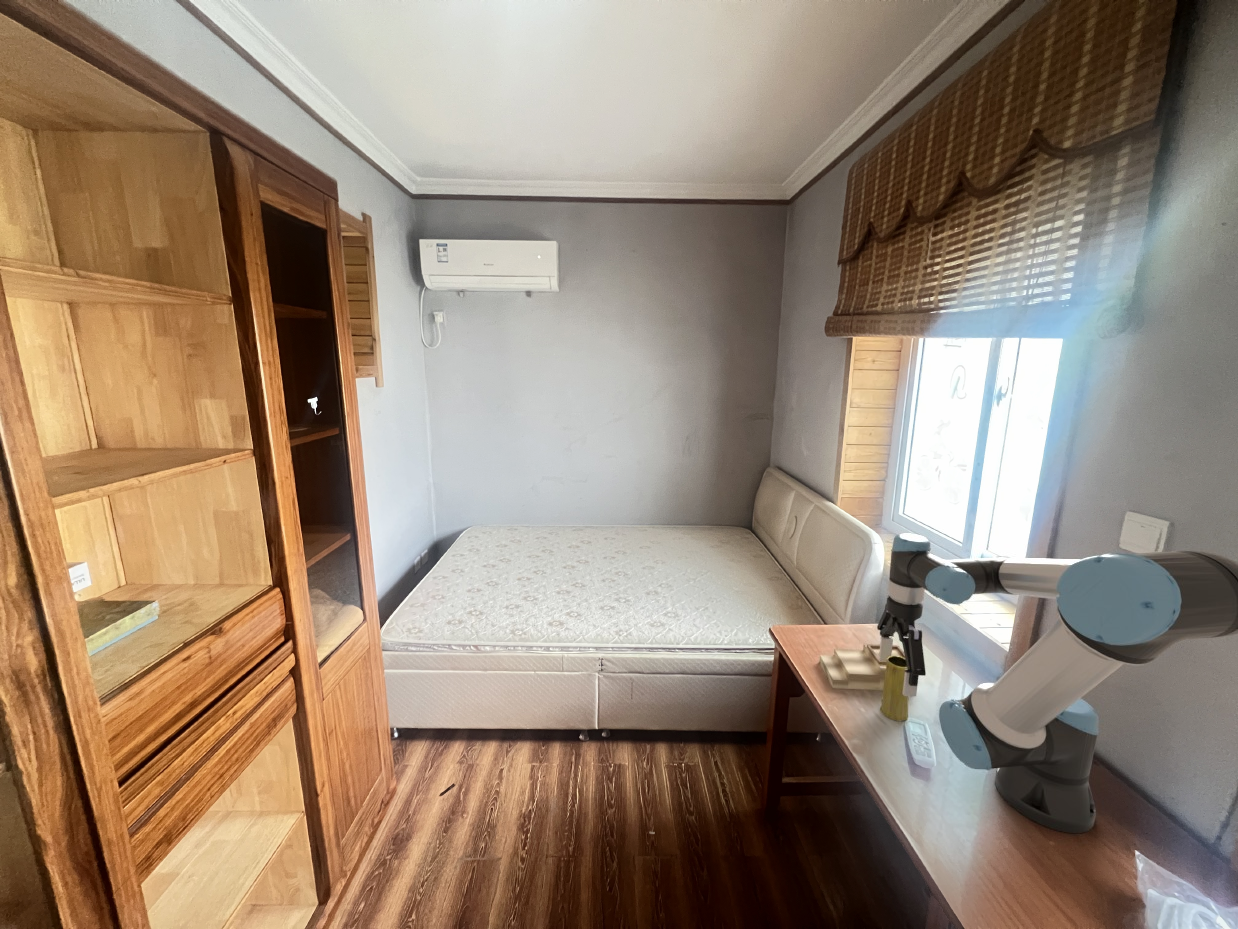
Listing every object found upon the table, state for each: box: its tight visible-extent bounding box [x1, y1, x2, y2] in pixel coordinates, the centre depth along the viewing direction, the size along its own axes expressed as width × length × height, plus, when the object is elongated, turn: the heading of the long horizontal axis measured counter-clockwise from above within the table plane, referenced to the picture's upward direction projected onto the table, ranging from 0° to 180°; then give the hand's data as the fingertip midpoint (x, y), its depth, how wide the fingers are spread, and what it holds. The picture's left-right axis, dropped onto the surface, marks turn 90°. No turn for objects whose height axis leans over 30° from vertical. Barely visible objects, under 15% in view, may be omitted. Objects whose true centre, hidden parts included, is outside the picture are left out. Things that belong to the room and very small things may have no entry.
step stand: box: [818, 643, 905, 691], centre depth 138 cm, size 12×21×7 cm, turn 84°
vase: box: [879, 656, 909, 722], centre depth 123 cm, size 6×6×14 cm
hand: (896, 677), depth 123 cm, fingers open, 13 cm apart
